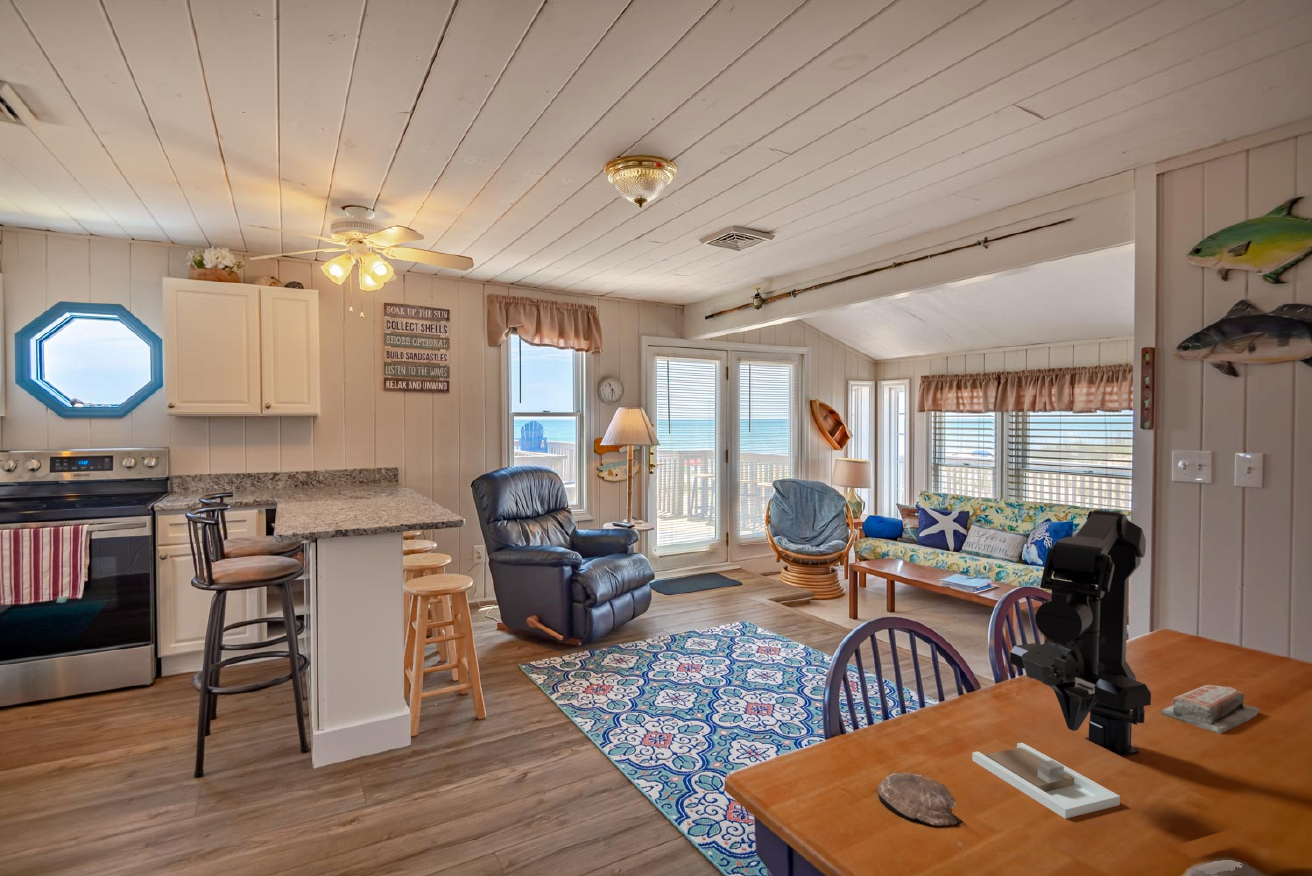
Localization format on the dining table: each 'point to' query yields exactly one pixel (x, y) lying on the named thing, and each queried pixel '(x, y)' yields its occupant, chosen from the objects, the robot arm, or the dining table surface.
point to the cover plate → (1033, 769)
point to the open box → (1061, 801)
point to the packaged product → (1211, 708)
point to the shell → (918, 799)
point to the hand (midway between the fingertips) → (1072, 729)
